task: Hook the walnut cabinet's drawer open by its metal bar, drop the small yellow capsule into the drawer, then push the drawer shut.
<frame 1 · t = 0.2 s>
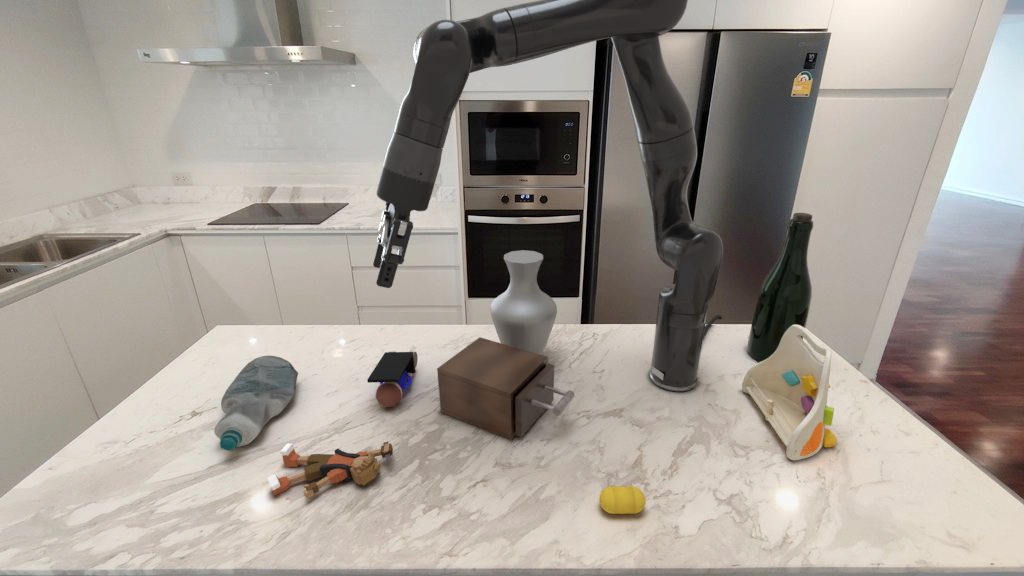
hand: (381, 276, 72), 31 cm above the counter, tool tilted 20°, fingers open, 8 cm apart
green wine bottle: (771, 356, 110), on the counter
plastic water bottle: (256, 417, 91), on the counter
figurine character: (397, 390, 99), on the counter
cabinet: (494, 405, 93), on the counter
character figurine: (333, 476, 77), on the counter
vase: (523, 361, 109), on the counter
drawer: (517, 392, 89), point 5 cm above the counter, slide at 0.5 cm
yellow capsule: (621, 509, 70), on the counter
shape sorter: (789, 424, 88), on the counter
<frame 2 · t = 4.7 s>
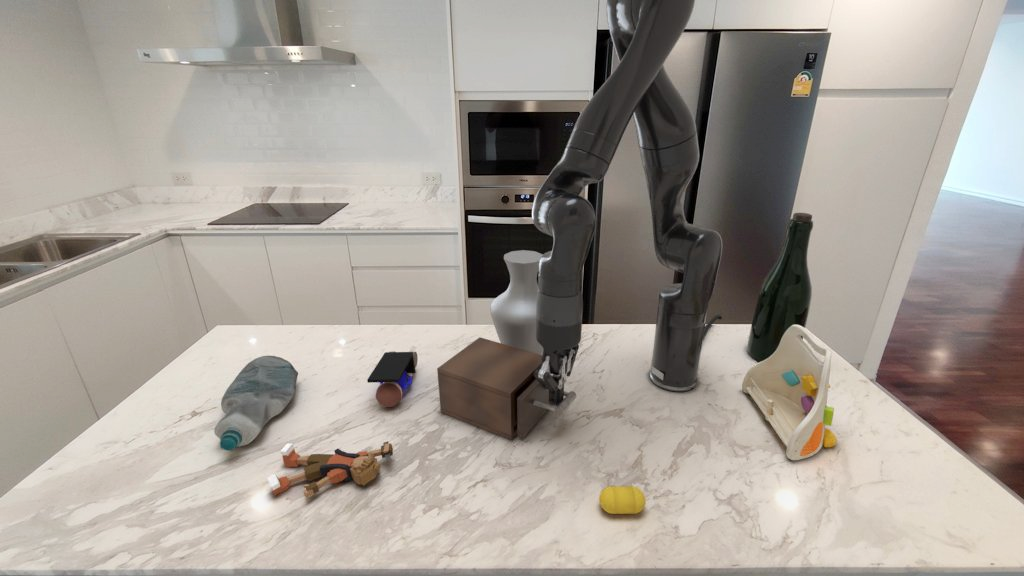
hand: (556, 402, 85), 6 cm above the counter, tool pointing down, fingers closed
drawer: (519, 393, 89), point 5 cm above the counter, slide at 0.9 cm, touching gripper
everything else where it was.
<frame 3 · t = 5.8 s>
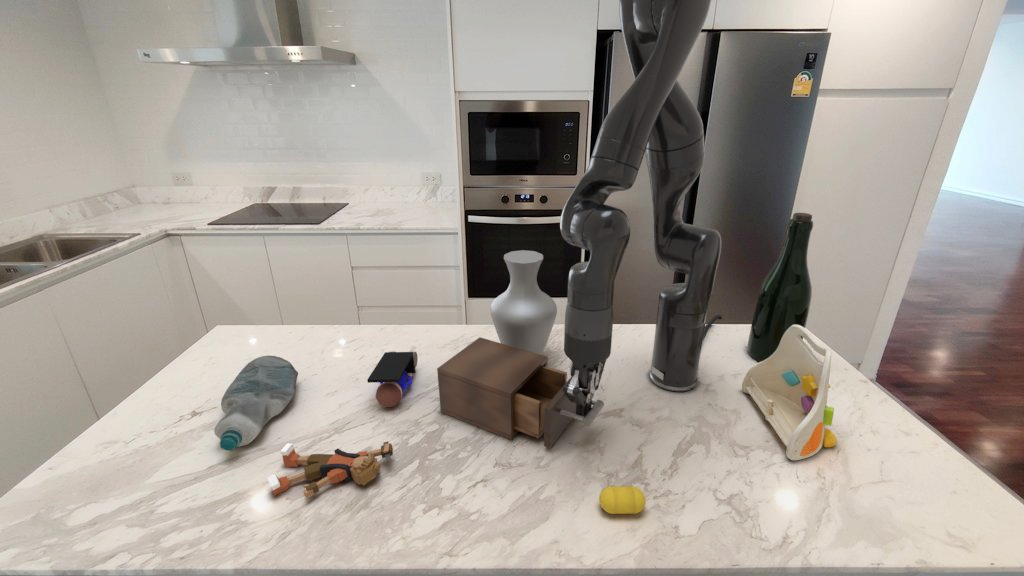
hand: (583, 416, 83), 4 cm above the counter, tool pointing down, fingers closed
drawer: (544, 401, 86), point 5 cm above the counter, slide at 6.1 cm, touching gripper
everything else where it was.
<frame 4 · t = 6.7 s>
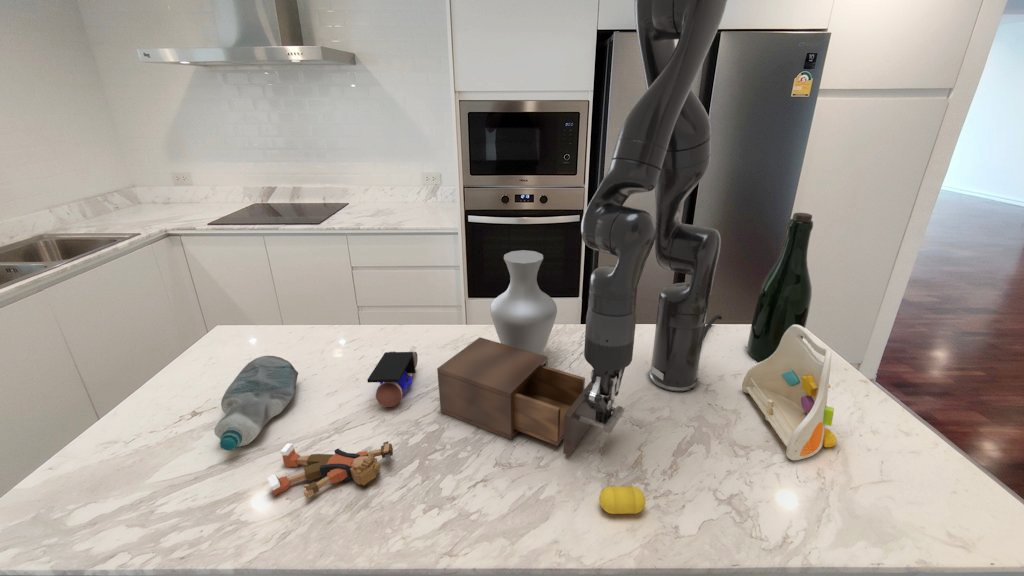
hand: (602, 423, 81), 4 cm above the counter, tool pointing down, fingers closed
drawer: (562, 407, 85), point 5 cm above the counter, slide at 9.7 cm, touching gripper
everything else where it was.
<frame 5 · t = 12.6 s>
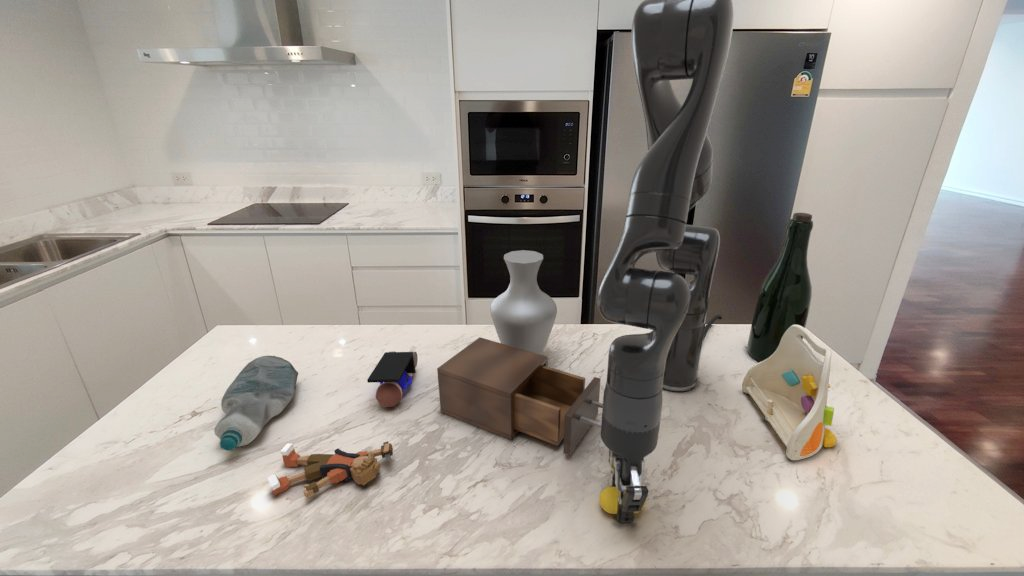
hand: (621, 508, 70), 0 cm above the counter, tool pointing down, fingers closed on yellow capsule, 3 cm apart
drawer: (562, 407, 85), point 5 cm above the counter, slide at 9.7 cm
yellow capsule: (621, 509, 70), on the counter, touching gripper
everything else where it was.
when the fingers open (7 cm above the counter, at t = 19.8 s): yellow capsule drops 5 cm, resting on drawer.
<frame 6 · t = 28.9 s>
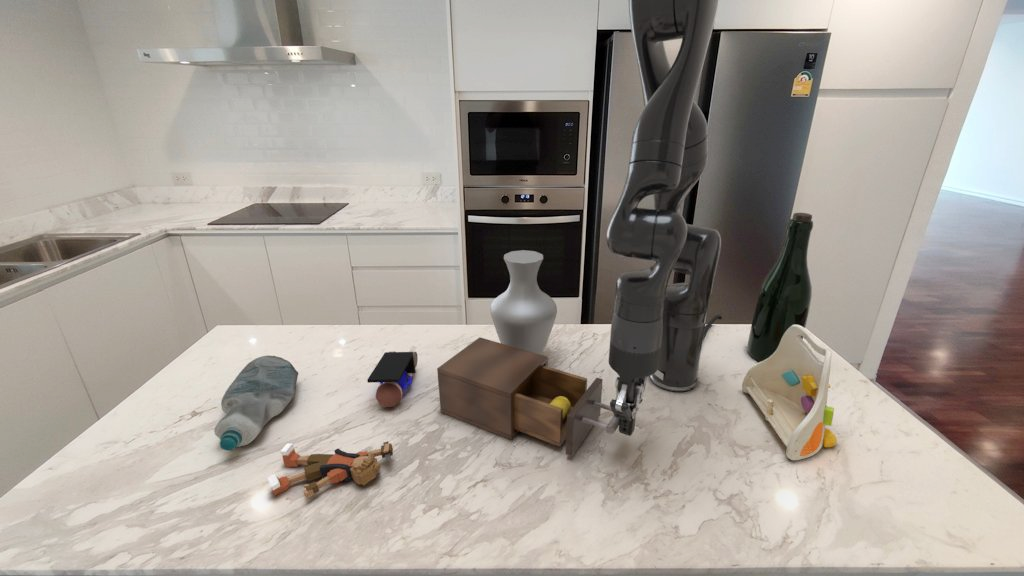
hand: (626, 431, 79), 5 cm above the counter, tool pointing down, fingers closed
drawer: (564, 408, 84), point 5 cm above the counter, slide at 10.1 cm, touching yellow capsule, gripper
yellow capsule: (557, 419, 86), point 2 cm above the counter, touching drawer
everything else where it was.
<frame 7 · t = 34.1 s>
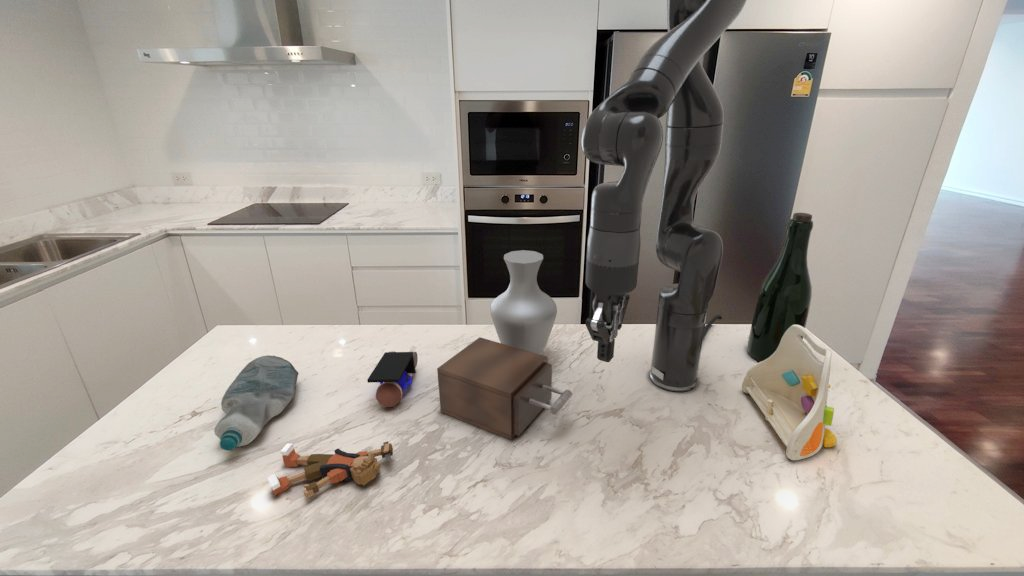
hand: (605, 358, 77), 17 cm above the counter, tool pointing down, fingers closed
drawer: (515, 391, 89), point 5 cm above the counter, slide at 0.0 cm, touching yellow capsule, cabinet
yellow capsule: (490, 380, 92), point 6 cm above the counter, tilted 156°, touching drawer
everything else where it was.
at the end: yellow capsule inside the target area in the cabinet (0.9 cm from its centre), point 5.5 cm above the cabinet's base; drawer slide at 0.0 cm; the gripper is holding nothing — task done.
